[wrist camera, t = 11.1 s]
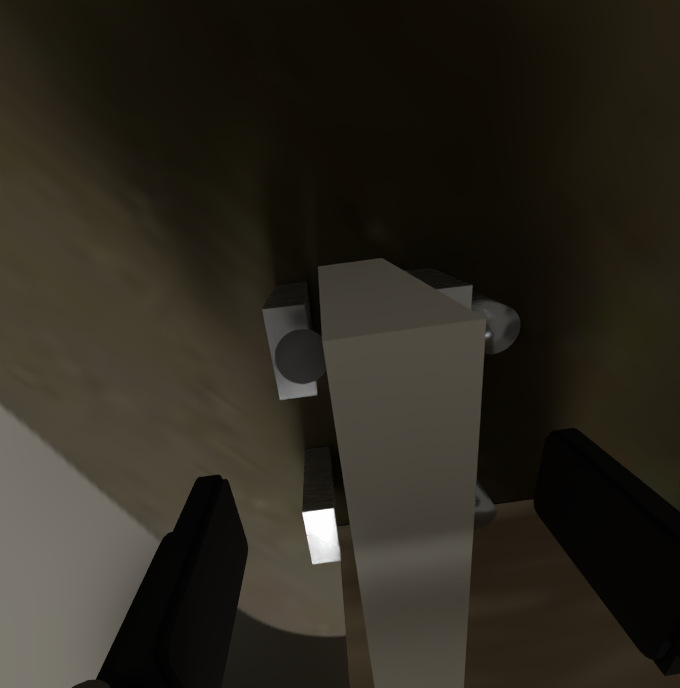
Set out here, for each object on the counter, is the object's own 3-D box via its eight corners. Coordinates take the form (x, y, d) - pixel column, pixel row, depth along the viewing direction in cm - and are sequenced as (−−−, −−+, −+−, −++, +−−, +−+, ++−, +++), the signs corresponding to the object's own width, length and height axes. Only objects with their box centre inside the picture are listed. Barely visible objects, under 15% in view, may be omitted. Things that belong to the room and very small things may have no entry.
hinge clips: (276, 285, 12) (261, 309, 9) (470, 263, 12) (526, 279, 9) (313, 495, 16) (312, 564, 13) (458, 475, 16) (493, 538, 13)
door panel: (282, 270, 12) (231, 354, 5) (381, 257, 12) (486, 318, 5) (325, 498, 17) (333, 725, 9) (397, 488, 17) (462, 703, 9)
